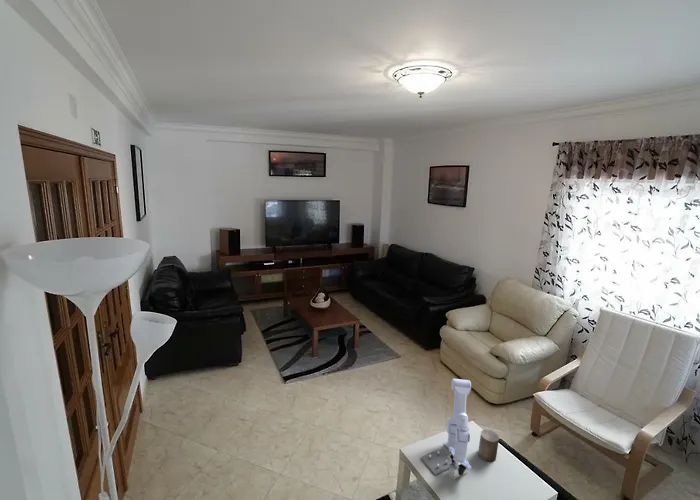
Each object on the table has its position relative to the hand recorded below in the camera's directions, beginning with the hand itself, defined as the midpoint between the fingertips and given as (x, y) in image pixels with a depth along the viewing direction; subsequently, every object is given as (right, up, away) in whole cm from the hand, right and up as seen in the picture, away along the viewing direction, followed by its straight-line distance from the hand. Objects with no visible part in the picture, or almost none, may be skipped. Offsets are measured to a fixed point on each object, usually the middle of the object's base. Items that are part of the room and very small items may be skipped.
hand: (457, 471), depth 187 cm
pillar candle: (+20, +1, +13) cm, 24 cm away
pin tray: (-9, +1, +7) cm, 11 cm away
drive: (0, -1, 0) cm, 1 cm away
